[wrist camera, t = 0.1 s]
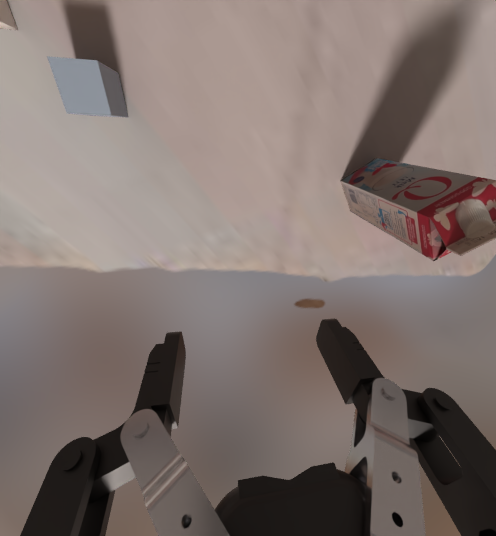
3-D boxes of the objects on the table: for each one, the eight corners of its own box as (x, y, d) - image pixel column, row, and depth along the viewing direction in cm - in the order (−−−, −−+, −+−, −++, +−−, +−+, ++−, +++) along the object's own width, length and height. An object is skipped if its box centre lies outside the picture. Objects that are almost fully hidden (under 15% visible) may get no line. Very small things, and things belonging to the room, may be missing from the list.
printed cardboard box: (340, 180, 38) (461, 230, 20) (376, 158, 36) (541, 188, 18) (350, 211, 41) (460, 277, 23) (383, 191, 40) (527, 245, 22)
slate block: (78, 70, 26) (46, 56, 21) (118, 72, 26) (97, 60, 21) (92, 115, 28) (66, 113, 23) (128, 117, 29) (111, 115, 24)
